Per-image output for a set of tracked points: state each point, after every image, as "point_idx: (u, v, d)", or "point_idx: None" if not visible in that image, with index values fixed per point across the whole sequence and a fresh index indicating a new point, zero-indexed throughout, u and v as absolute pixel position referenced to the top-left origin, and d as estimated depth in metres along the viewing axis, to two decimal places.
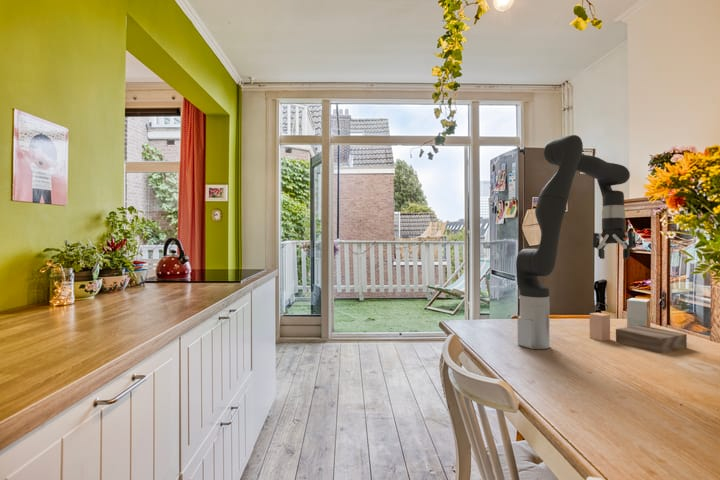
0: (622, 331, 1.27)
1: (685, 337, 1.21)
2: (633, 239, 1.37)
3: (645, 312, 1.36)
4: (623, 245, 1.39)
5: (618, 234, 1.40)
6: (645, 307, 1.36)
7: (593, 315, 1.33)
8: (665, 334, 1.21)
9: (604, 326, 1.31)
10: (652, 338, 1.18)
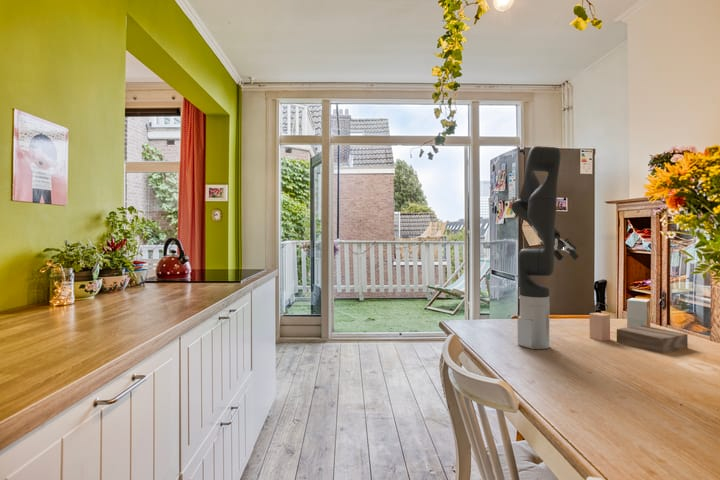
0: (623, 331, 1.27)
1: (685, 338, 1.21)
2: None
3: (645, 312, 1.36)
4: (570, 247, 1.48)
5: None
6: (645, 307, 1.36)
7: (593, 315, 1.33)
8: (666, 334, 1.21)
9: (604, 326, 1.31)
10: (653, 338, 1.18)
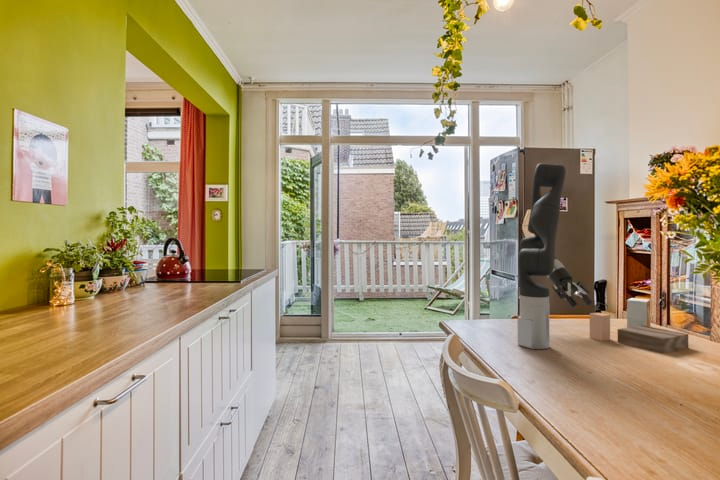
0: (624, 331, 1.26)
1: (686, 337, 1.21)
2: None
3: (645, 312, 1.36)
4: (583, 291, 1.43)
5: None
6: (645, 307, 1.36)
7: (593, 315, 1.33)
8: (667, 334, 1.21)
9: (604, 326, 1.31)
10: (654, 338, 1.18)
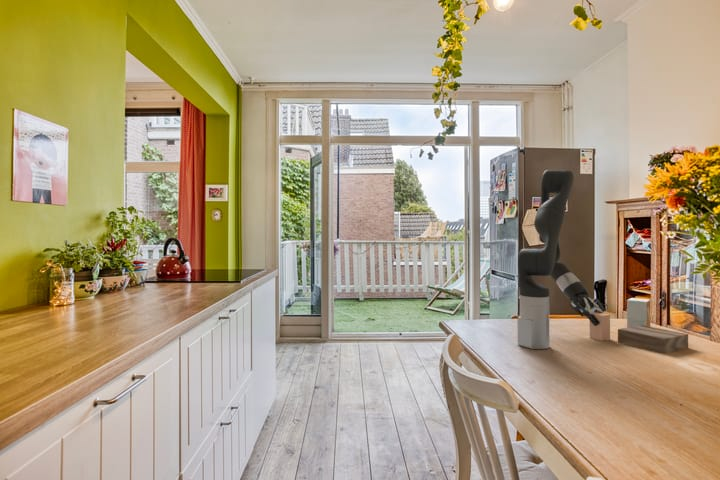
0: (624, 331, 1.26)
1: (686, 337, 1.21)
2: None
3: (645, 312, 1.36)
4: (599, 309, 1.36)
5: None
6: (645, 307, 1.36)
7: None
8: (667, 334, 1.21)
9: (604, 326, 1.31)
10: (655, 338, 1.18)
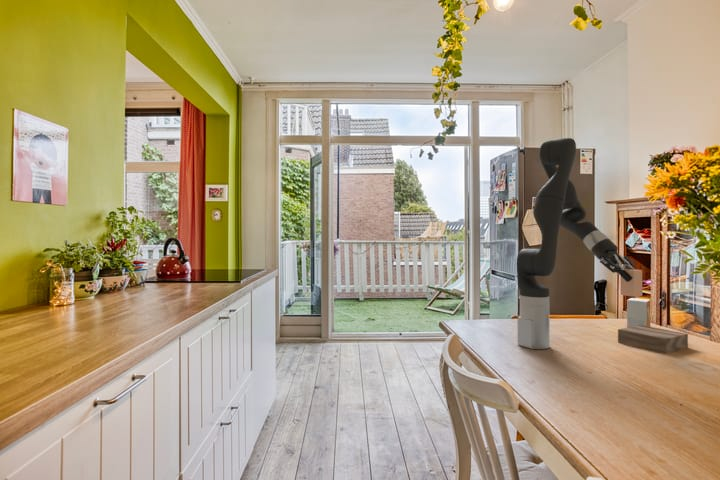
0: (624, 331, 1.26)
1: (686, 337, 1.21)
2: None
3: (645, 312, 1.36)
4: (630, 265, 1.31)
5: None
6: (645, 307, 1.36)
7: None
8: (667, 334, 1.21)
9: (636, 282, 1.26)
10: (656, 338, 1.18)
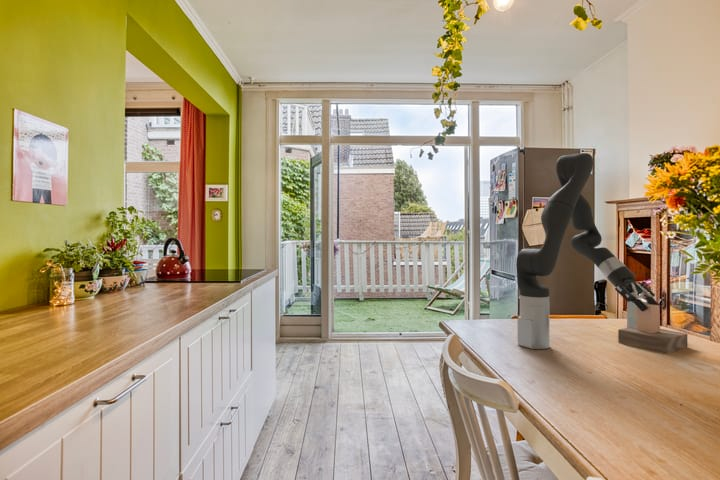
0: (625, 332, 1.26)
1: (686, 337, 1.21)
2: None
3: None
4: (648, 294, 1.28)
5: None
6: None
7: None
8: (667, 334, 1.21)
9: (653, 318, 1.23)
10: (657, 338, 1.18)
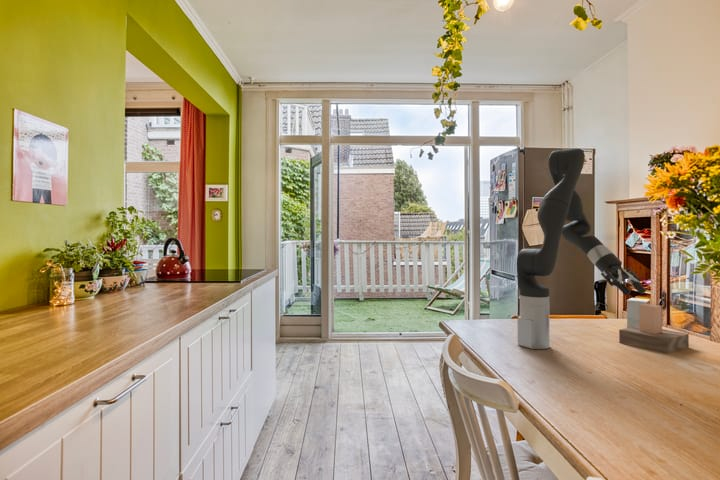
0: (626, 332, 1.26)
1: (687, 337, 1.21)
2: None
3: None
4: (635, 279, 1.33)
5: None
6: None
7: (643, 306, 1.25)
8: (669, 334, 1.21)
9: (656, 318, 1.22)
10: (658, 339, 1.18)
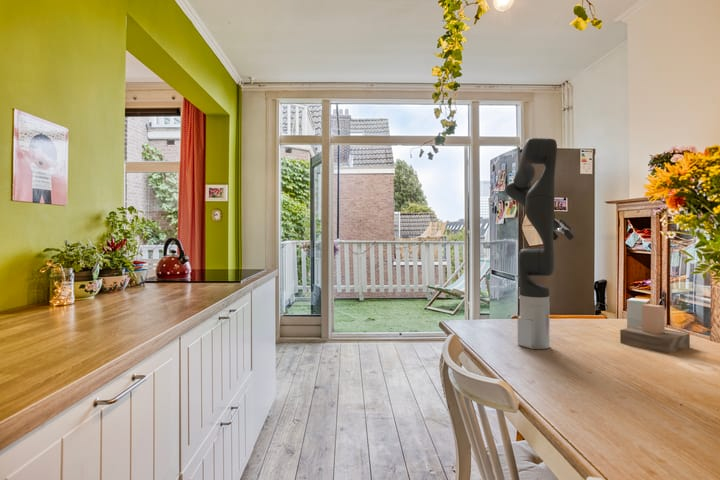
0: (627, 332, 1.26)
1: (688, 337, 1.21)
2: None
3: None
4: (565, 227, 1.47)
5: None
6: None
7: (646, 306, 1.25)
8: (670, 334, 1.21)
9: (659, 318, 1.22)
10: (659, 339, 1.18)
